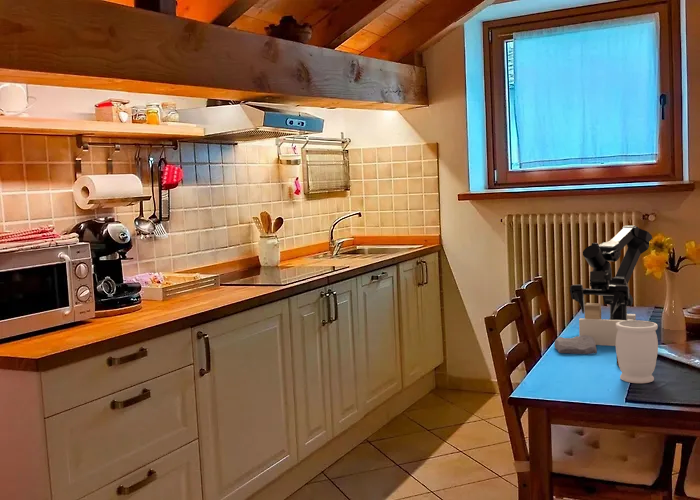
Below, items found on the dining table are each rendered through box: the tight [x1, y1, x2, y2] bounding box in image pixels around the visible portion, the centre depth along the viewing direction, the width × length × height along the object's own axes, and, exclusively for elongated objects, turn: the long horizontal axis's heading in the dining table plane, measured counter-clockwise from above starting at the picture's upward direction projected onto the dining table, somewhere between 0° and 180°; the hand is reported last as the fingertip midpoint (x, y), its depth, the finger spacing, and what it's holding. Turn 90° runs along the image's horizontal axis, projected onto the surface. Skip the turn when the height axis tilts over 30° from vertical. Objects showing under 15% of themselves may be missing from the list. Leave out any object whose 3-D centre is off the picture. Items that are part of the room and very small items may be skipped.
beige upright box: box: [578, 317, 626, 347], centre depth 234 cm, size 3×14×8 cm, turn 64°
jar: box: [615, 319, 659, 384], centre depth 194 cm, size 11×10×15 cm
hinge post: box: [627, 313, 637, 320], centre depth 230 cm, size 2×2×10 cm
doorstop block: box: [584, 302, 602, 319], centre depth 239 cm, size 4×4×12 cm
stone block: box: [554, 335, 598, 355], centre depth 228 cm, size 12×5×10 cm
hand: (597, 313), depth 246 cm, fingers open, 9 cm apart
